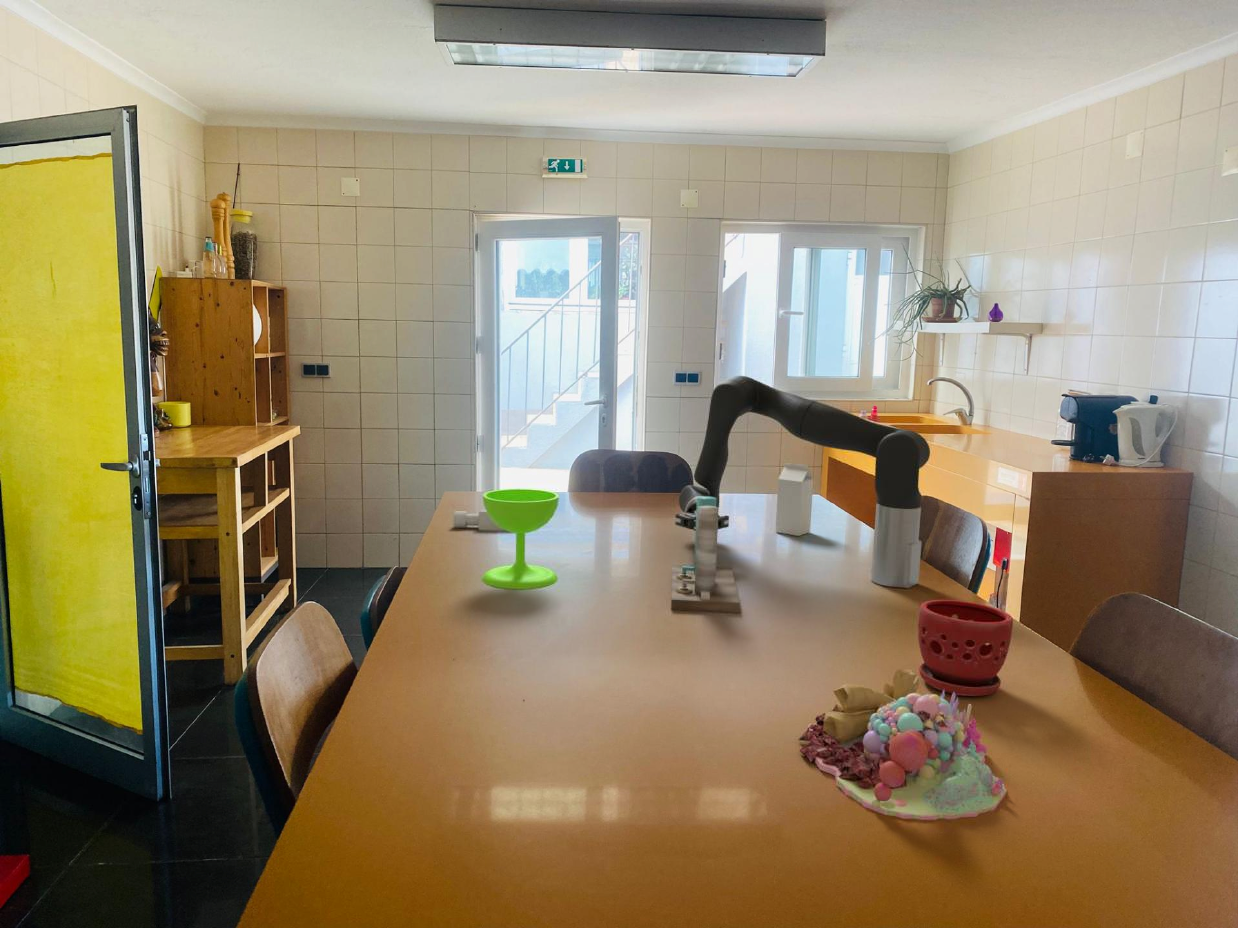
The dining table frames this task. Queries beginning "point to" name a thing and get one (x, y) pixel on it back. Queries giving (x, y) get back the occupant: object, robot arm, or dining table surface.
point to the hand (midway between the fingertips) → (703, 528)
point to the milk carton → (794, 500)
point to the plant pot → (963, 646)
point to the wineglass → (520, 534)
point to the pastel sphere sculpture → (904, 752)
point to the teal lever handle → (700, 502)
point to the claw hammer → (474, 520)
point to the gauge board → (715, 601)
